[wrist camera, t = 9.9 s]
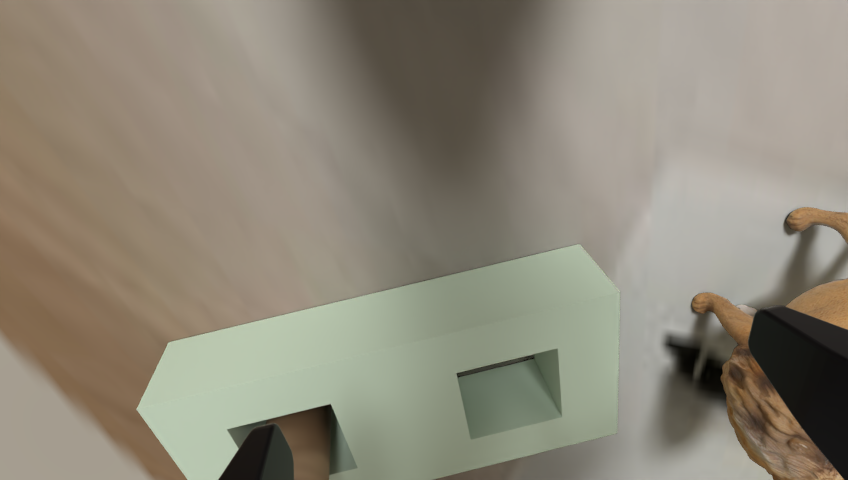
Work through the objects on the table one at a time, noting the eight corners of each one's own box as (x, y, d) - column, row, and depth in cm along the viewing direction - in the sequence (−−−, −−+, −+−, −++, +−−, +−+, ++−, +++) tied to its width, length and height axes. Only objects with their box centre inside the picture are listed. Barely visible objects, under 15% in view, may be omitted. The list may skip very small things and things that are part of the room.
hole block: (579, 243, 23) (620, 292, 20) (583, 375, 28) (617, 433, 24) (168, 342, 23) (136, 409, 19) (241, 460, 27) (225, 531, 24)
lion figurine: (700, 375, 29) (828, 522, 21) (640, 346, 27) (757, 497, 20) (914, 175, 24) (1184, 274, 16) (858, 123, 22) (1136, 206, 14)
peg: (322, 355, 24) (309, 567, 16) (339, 396, 26) (335, 610, 17) (264, 369, 24) (218, 590, 16) (284, 409, 26) (252, 631, 17)
